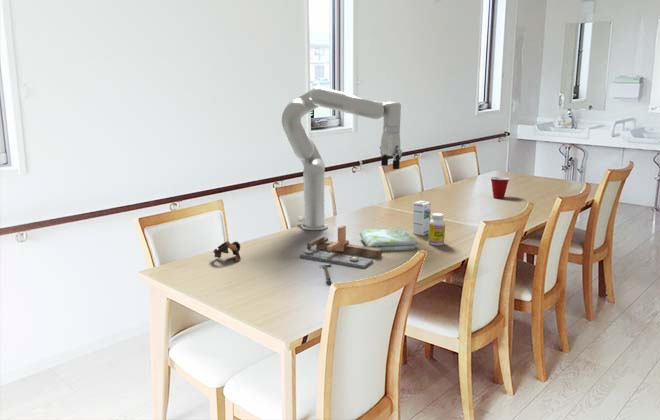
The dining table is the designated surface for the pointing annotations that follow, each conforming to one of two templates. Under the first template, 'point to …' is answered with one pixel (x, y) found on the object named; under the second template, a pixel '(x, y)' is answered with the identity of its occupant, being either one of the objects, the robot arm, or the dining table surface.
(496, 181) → the plastic cup
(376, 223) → the dining table surface
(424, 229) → the syrup box
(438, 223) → the supplement bottle
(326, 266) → the tactical tomahawk
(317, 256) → the steel strip
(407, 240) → the towel
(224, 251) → the brown arched piece
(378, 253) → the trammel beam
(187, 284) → the dining table surface
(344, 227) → the sliding leg
